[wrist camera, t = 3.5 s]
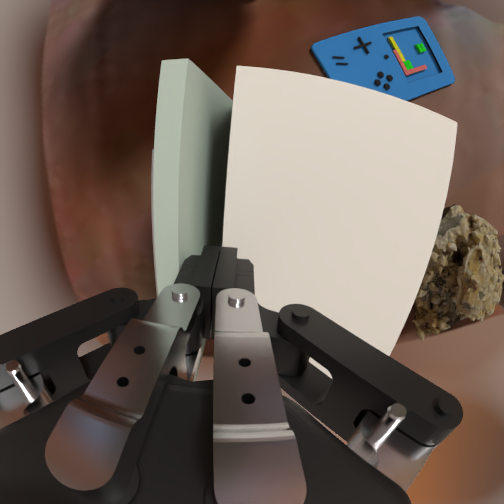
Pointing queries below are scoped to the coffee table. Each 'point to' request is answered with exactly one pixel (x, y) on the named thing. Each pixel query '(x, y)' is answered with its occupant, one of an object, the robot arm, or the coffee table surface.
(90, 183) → the coffee table surface
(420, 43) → the handheld gaming device
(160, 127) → the door
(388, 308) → the case
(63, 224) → the coffee table surface
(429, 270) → the mineral specimen
